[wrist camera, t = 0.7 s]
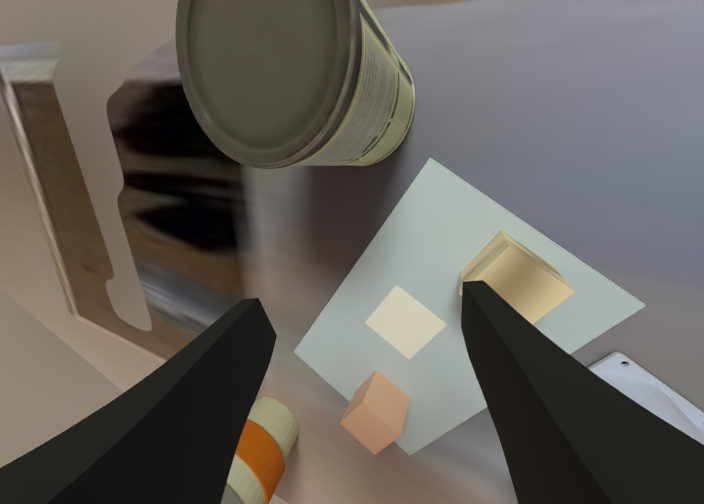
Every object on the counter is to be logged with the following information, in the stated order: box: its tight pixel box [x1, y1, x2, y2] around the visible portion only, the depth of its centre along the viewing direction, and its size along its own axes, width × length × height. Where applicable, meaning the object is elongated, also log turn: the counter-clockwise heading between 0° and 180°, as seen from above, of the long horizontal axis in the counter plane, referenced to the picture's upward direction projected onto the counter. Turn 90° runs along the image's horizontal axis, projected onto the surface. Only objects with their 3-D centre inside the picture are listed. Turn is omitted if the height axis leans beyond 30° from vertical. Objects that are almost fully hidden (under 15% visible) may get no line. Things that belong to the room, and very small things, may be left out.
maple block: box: [459, 230, 575, 324], centre depth 21 cm, size 5×5×5 cm
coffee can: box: [176, 0, 415, 169], centre depth 18 cm, size 10×10×14 cm
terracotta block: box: [340, 370, 410, 455], centre depth 30 cm, size 5×5×5 cm
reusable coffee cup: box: [221, 397, 299, 504], centre depth 37 cm, size 13×13×15 cm
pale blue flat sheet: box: [294, 158, 646, 456], centre depth 28 cm, size 20×30×1 cm, turn 148°
